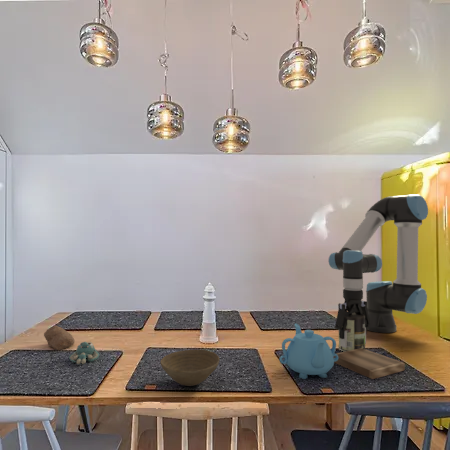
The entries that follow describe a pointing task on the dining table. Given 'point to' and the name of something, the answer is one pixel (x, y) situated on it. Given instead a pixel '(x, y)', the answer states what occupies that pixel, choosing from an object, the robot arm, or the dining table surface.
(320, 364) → the teapot
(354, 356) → the walnut board
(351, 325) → the coffee can
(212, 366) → the bowl
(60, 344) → the stone
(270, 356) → the dining table surface
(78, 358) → the stuffed animal
